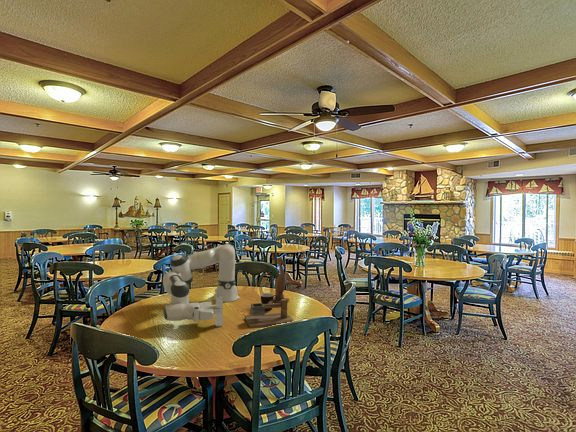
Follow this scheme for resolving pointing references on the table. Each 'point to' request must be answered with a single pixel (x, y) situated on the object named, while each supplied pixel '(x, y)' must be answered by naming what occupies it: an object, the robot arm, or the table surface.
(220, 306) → the rail
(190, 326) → the table surface
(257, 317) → the cup bracket
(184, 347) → the table surface
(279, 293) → the bird sculpture
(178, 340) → the table surface
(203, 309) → the robot arm
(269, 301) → the coffee mug
